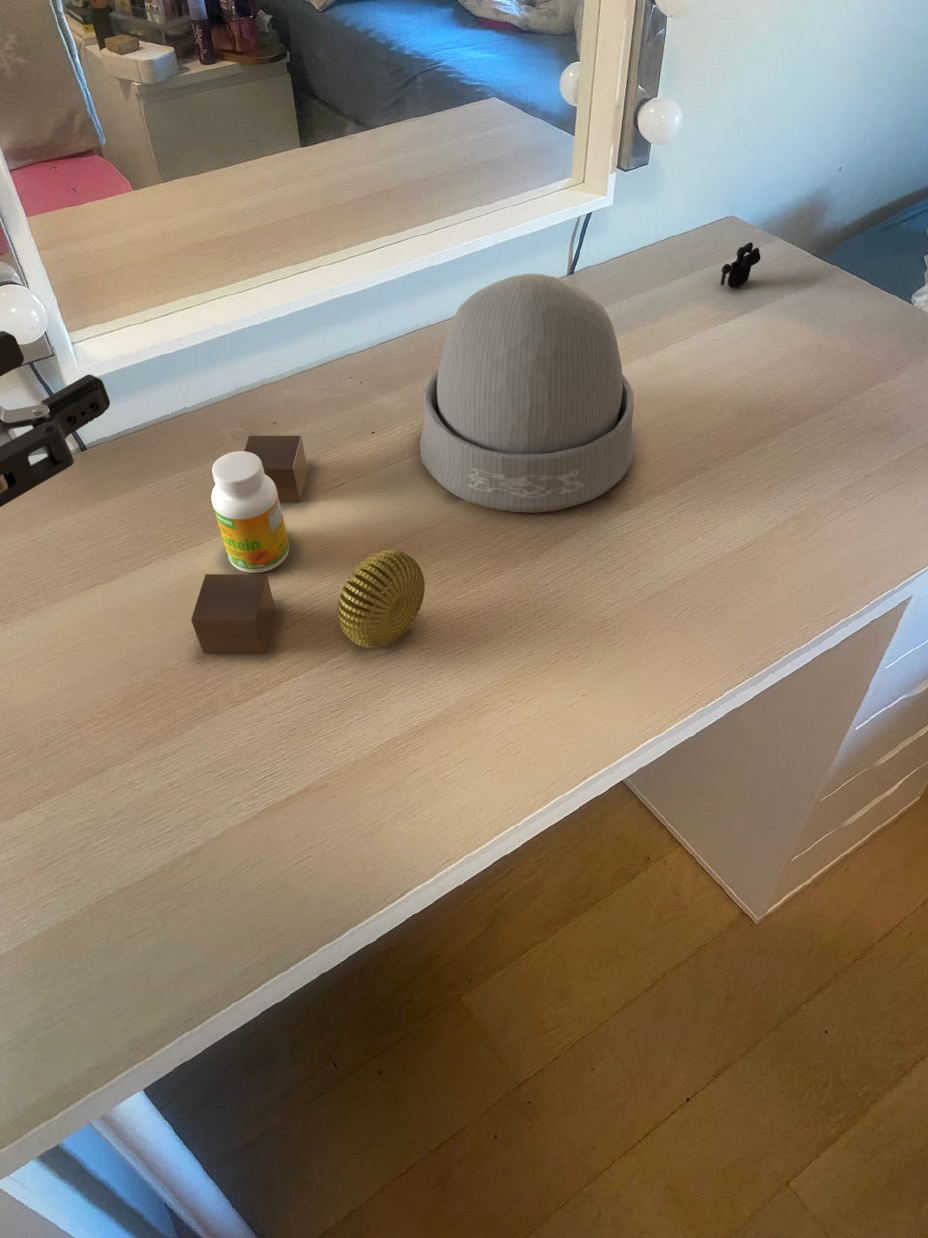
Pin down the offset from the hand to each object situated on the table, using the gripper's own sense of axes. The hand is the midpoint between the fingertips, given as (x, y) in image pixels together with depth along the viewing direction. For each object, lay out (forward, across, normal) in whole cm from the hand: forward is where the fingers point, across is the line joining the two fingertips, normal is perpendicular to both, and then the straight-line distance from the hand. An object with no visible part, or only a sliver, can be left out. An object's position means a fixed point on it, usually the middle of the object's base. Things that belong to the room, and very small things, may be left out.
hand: (57, 366), depth 55 cm
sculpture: (+10, -15, +25) cm, 31 cm away
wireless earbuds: (+78, -15, +25) cm, 84 cm away
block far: (+18, +5, +25) cm, 31 cm away
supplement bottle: (+11, 0, +25) cm, 27 cm away
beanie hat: (+37, -11, +25) cm, 46 cm away
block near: (+3, -5, +24) cm, 25 cm away
